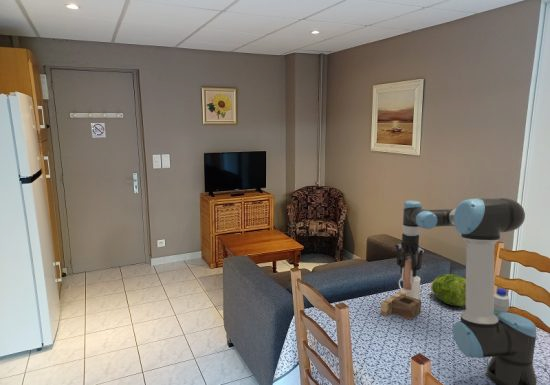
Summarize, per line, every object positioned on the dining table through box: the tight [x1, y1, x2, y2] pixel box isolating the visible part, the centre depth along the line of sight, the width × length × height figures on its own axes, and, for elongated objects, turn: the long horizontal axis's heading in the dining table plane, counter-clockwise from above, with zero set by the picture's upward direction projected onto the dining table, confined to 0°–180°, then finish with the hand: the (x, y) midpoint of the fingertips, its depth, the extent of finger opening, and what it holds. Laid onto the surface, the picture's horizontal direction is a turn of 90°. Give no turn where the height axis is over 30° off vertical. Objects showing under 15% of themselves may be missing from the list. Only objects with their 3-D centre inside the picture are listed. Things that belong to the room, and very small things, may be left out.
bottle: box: [494, 288, 510, 317], centre depth 170 cm, size 7×7×20 cm
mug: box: [398, 275, 421, 300], centre depth 205 cm, size 12×8×12 cm
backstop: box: [380, 290, 406, 317], centre depth 193 cm, size 20×3×6 cm, turn 136°
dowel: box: [402, 258, 412, 290], centre depth 186 cm, size 4×4×14 cm
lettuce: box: [430, 273, 466, 307], centre depth 201 cm, size 16×21×15 cm
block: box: [391, 295, 422, 321], centre depth 189 cm, size 10×10×6 cm
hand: (407, 281), depth 187 cm, fingers closed on dowel, 3 cm apart
